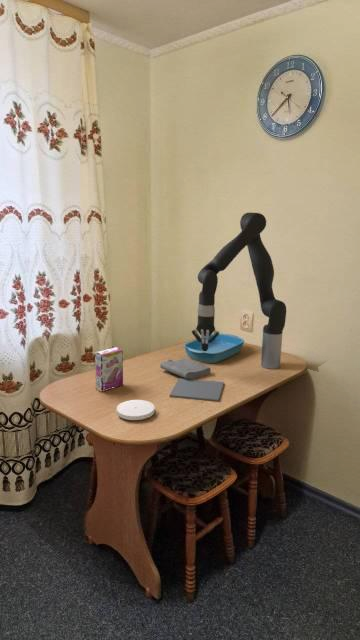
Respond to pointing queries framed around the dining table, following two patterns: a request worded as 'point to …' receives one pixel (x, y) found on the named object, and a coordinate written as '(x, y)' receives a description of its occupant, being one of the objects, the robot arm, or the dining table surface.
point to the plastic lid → (135, 409)
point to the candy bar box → (109, 368)
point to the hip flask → (185, 368)
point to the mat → (197, 389)
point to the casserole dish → (214, 348)
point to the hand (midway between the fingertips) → (204, 350)
